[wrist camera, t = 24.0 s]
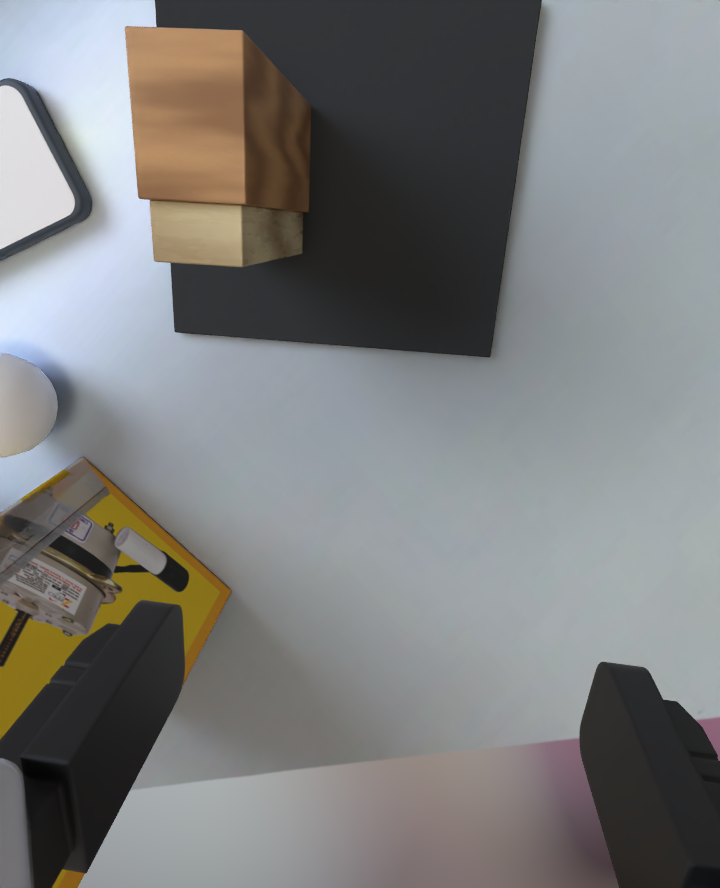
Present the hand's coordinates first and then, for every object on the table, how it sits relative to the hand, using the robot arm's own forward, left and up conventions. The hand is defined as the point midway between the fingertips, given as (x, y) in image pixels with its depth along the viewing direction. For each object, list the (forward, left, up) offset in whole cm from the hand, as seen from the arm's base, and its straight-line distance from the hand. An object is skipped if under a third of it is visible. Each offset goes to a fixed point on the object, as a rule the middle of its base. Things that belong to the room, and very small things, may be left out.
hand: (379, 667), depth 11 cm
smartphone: (+31, -8, -31) cm, 44 cm away
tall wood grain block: (+10, -6, -23) cm, 25 cm away
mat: (+6, -10, -31) cm, 33 cm away
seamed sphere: (+30, +6, -31) cm, 43 cm away
